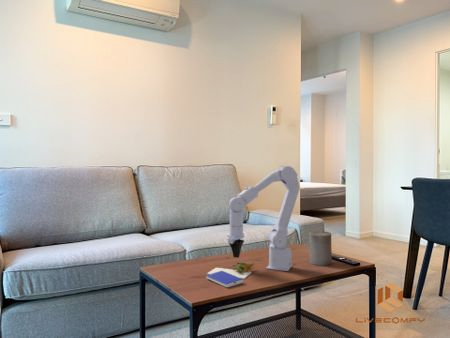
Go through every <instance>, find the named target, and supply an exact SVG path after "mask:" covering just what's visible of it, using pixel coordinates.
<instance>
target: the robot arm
mask: <svg viewBox="0 0 450 338" xmlns="http://www.w3.org/2000/svg"><path fill="white" fill-rule="evenodd" d="M275 182H282V183H283V185H284V187H285V188H286V191H285V194H284V198H283V199H282V204H281V207H280V210H279V214H278V216H277V219H276V222H275V224H274V225H273V227H272V229H271V231H270V232H269V234H268V241H269V242H270V243H269V245H268V246H269V247H268V248H269V249H268V257H269V258H268V266H266V268H265V269H267V270H276V271H283V272H284V271H285V272H289V271H290V269H291V268H292V267H293V265H292V264H293V263H292V262H293V261H292V260H293V259H292V248H290V247H287V244H288V227H289V224H290V221H291V217H292V215H293V214H292V213H293V211H294V208H295V204H296V201H297V198H298V195H299V192H300V187H301V186H300V183H299V179H298V173H297V172H296V170H295V168H293V167H292V166H290V165H289V166H287V165H286V166H284V165H282V166H279V167H278V168H276V169H274V170H273V171H271V172H270V173H269V174H267V175H266V176H264V178H262V179H261V180H260V181H259V182H257V183H256V184H255V185H254V186H251V185H250V186H246V187H244V190H242V191H241V192H240V193H237V194H236V195H235V196H236V197H235V196H234V197H232V198H231V199H230V200H229V203H228V207H229V208H230V210H229V234H226V235H227V236H226V237H227V238H228V239H227V244H229V246H230V249H231V251H232V256H233V258H237V259H238V258H239V257H240V255H241V251H242V247H243V244H244V242H245V240H244V239H243V238H245V233H244V213H243V211H244V208H245V206H248V205H249V204H250V203H251V202H253V201H254V200H255V199H256V198H258V196H259V193H260V192H261V191H263V190H264V189H265V188H267V187H268V186H270V185H271V184H273V183H275Z"/></svg>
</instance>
